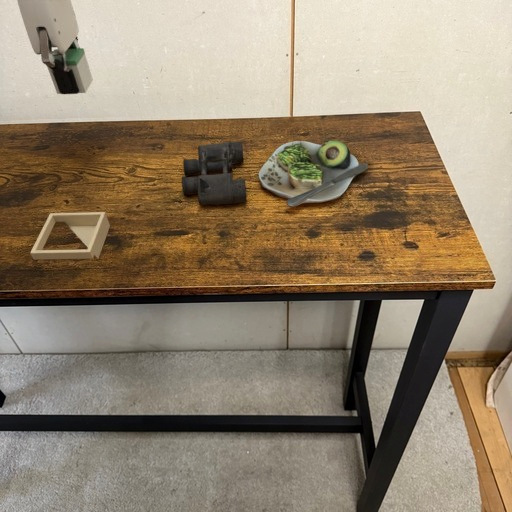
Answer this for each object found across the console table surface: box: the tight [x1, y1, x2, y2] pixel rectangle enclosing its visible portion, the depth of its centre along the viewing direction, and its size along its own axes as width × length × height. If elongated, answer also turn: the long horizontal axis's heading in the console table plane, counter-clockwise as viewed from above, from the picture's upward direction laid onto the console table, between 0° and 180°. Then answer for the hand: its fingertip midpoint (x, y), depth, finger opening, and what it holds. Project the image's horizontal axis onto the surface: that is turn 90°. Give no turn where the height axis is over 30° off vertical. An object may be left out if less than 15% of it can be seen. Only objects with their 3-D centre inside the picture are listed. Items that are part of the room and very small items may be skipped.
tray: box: [29, 211, 111, 261], centre depth 72 cm, size 9×9×3 cm
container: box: [45, 47, 94, 95], centre depth 78 cm, size 5×5×6 cm
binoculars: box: [181, 141, 248, 206], centre depth 81 cm, size 11×16×6 cm
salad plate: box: [258, 139, 369, 208], centre depth 81 cm, size 19×18×5 cm
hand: (74, 84), depth 80 cm, fingers closed on container, 5 cm apart
